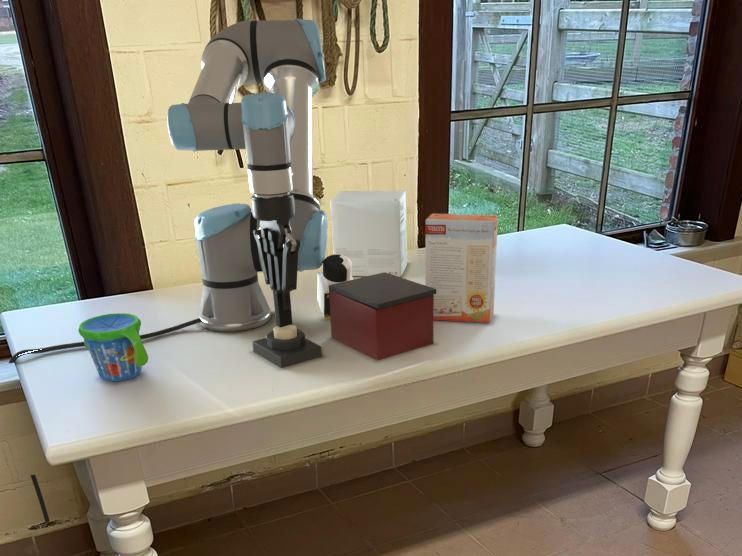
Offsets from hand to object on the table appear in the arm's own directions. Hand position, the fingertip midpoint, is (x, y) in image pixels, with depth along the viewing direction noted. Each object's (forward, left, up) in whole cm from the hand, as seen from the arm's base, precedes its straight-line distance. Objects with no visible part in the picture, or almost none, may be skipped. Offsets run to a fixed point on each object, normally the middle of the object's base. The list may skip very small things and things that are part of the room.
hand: (284, 324), depth 150 cm
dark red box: (+19, +4, -6) cm, 20 cm away
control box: (0, 0, -6) cm, 6 cm away
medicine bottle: (+11, +23, -5) cm, 26 cm away
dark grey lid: (+19, +4, +4) cm, 20 cm away
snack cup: (-31, -5, -6) cm, 32 cm away
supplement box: (+22, +55, -6) cm, 60 cm away
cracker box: (+37, +15, -6) cm, 40 cm away
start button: (0, 0, -2) cm, 2 cm away
